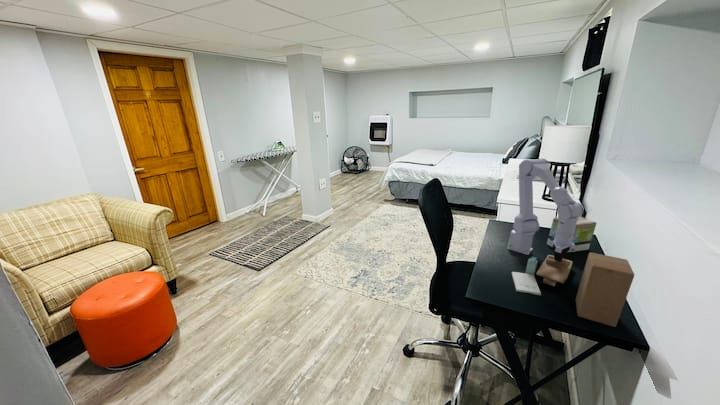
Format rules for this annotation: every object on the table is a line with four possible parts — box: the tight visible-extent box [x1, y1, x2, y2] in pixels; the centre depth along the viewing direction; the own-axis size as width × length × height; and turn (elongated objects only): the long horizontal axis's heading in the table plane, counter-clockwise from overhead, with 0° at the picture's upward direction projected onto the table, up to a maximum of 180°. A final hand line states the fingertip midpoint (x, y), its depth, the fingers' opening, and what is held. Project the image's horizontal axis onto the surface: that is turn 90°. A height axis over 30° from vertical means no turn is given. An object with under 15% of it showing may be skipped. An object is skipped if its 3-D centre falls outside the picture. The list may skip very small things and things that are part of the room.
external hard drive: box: [511, 271, 542, 296], centre depth 113 cm, size 2×8×12 cm
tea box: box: [546, 216, 597, 253], centre depth 137 cm, size 15×10×15 cm, turn 104°
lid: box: [535, 257, 570, 284], centre depth 113 cm, size 9×12×3 cm
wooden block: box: [575, 251, 635, 328], centre depth 94 cm, size 10×10×20 cm
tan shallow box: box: [542, 254, 573, 287], centre depth 118 cm, size 9×19×3 cm, turn 137°
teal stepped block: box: [524, 256, 539, 276], centre depth 118 cm, size 3×4×7 cm
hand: (557, 261), depth 119 cm, fingers closed
